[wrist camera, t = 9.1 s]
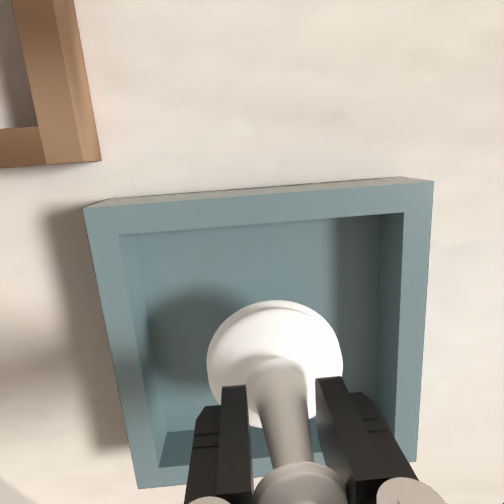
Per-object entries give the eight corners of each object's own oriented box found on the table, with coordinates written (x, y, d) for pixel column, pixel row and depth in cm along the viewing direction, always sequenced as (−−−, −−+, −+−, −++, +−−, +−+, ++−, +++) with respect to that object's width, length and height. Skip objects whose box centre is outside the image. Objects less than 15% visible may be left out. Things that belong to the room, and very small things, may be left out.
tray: (108, 198, 15) (82, 208, 12) (400, 176, 15) (433, 181, 12) (151, 441, 18) (138, 489, 15) (390, 419, 18) (416, 461, 16)
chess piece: (246, 436, 14) (273, 1047, 4) (181, 338, 13) (22, 893, 3) (360, 382, 14) (660, 924, 4) (304, 275, 12) (546, 693, 3)
